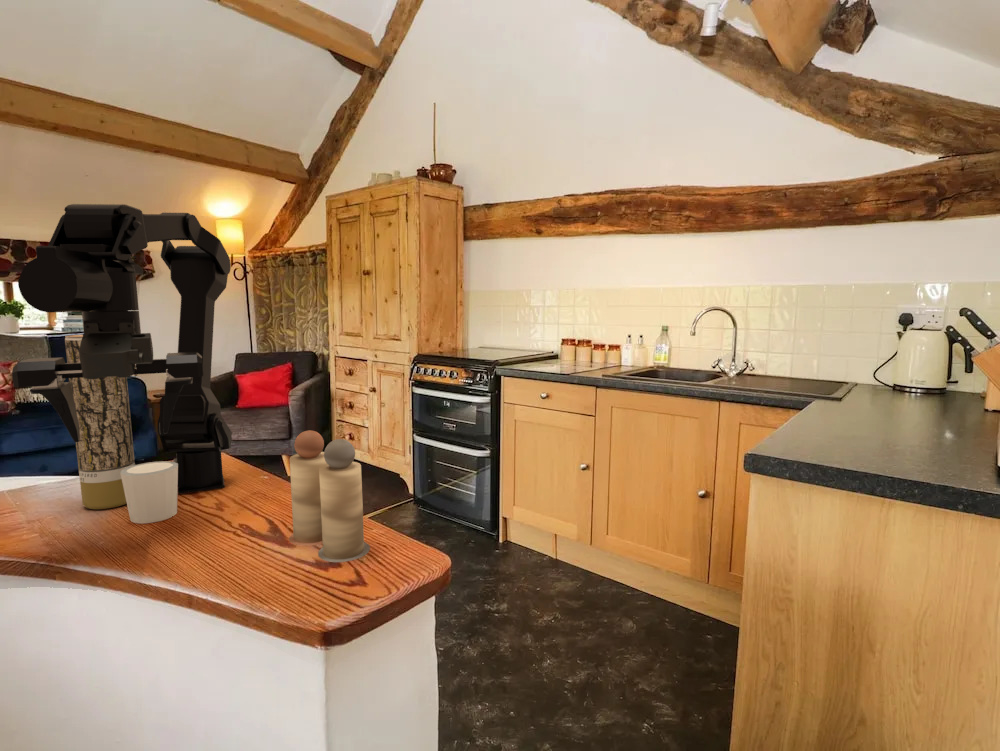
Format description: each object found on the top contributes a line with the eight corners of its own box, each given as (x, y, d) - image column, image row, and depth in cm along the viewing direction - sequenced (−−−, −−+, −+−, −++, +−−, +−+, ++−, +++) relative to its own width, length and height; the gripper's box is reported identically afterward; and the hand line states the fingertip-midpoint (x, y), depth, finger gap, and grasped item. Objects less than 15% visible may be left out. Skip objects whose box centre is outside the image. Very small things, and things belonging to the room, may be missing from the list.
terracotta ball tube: (322, 524, 72) (318, 424, 71) (339, 535, 69) (335, 431, 67) (287, 534, 69) (282, 430, 68) (302, 546, 66) (297, 437, 64)
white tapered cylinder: (121, 514, 79) (117, 466, 78) (177, 503, 83) (173, 457, 82) (128, 529, 74) (123, 478, 73) (187, 516, 78) (183, 468, 77)
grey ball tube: (358, 539, 68) (354, 432, 66) (368, 553, 64) (364, 441, 62) (319, 547, 66) (314, 437, 64) (327, 562, 62) (322, 446, 60)
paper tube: (110, 512, 80) (92, 337, 76) (70, 509, 81) (51, 336, 78) (148, 496, 86) (134, 334, 83) (111, 493, 87) (95, 333, 84)
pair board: (273, 544, 69) (272, 536, 69) (323, 527, 74) (323, 519, 74) (332, 577, 60) (332, 569, 60) (385, 555, 66) (384, 547, 66)
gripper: (-12, 313, 56) (6, 464, 58) (198, 311, 65) (208, 442, 67) (18, 311, 66) (33, 441, 68) (198, 310, 75) (206, 424, 77)
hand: (122, 437), depth 70 cm, fingers open, 9 cm apart
